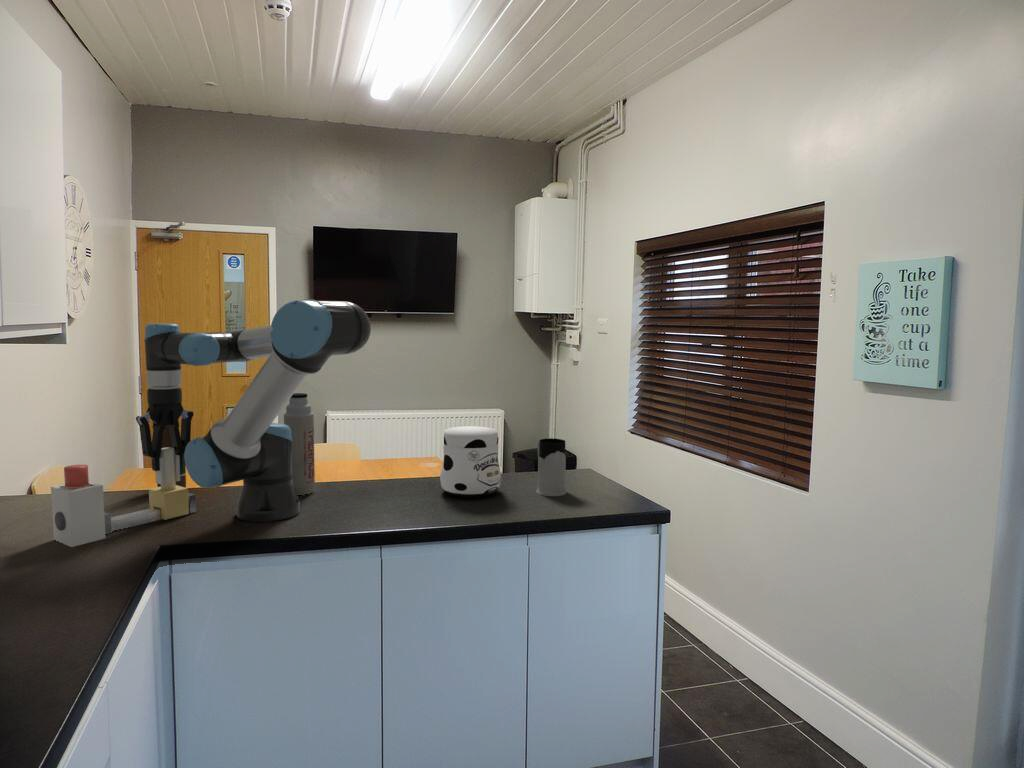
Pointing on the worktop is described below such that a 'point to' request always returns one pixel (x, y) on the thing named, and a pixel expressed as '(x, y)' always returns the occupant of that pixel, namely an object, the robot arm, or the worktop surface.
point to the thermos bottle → (301, 443)
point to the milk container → (470, 461)
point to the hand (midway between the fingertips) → (168, 481)
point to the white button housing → (78, 514)
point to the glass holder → (551, 467)
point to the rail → (140, 517)
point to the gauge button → (76, 475)
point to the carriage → (169, 490)
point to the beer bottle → (168, 444)
